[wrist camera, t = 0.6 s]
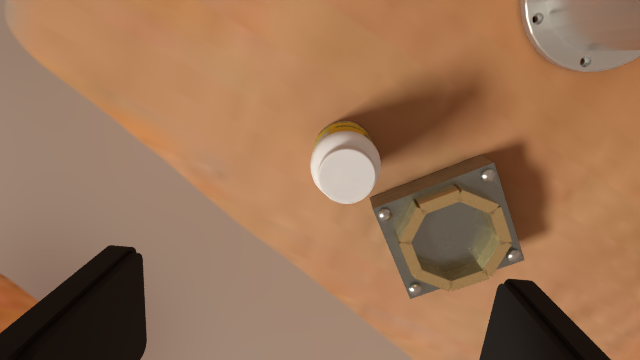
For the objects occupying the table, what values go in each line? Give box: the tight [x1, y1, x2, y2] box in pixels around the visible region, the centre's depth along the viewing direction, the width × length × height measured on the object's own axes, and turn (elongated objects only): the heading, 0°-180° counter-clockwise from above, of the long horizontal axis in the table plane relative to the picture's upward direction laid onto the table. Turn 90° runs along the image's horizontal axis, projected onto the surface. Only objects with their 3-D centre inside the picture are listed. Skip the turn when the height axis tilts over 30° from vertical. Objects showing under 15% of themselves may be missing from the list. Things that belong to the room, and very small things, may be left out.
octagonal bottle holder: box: [370, 155, 524, 299], centre depth 35 cm, size 11×10×5 cm
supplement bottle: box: [311, 121, 381, 204], centre depth 30 cm, size 5×5×10 cm
